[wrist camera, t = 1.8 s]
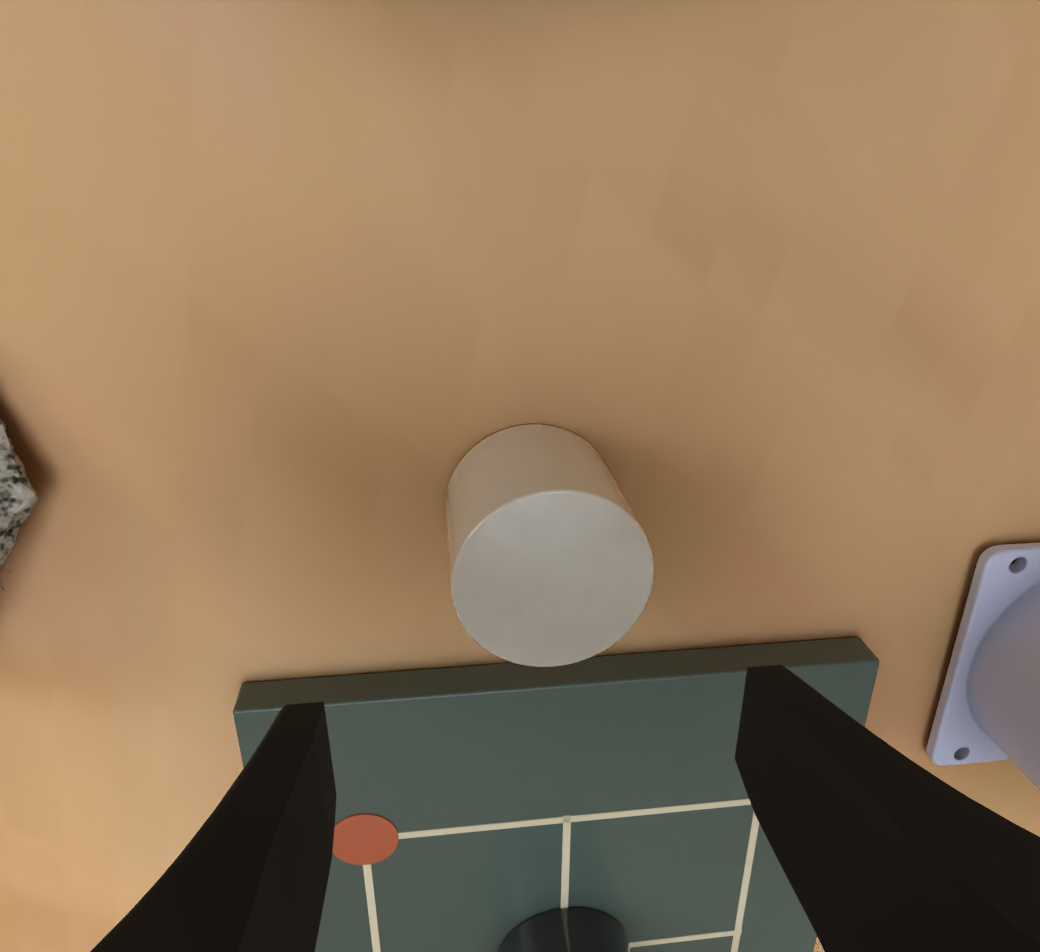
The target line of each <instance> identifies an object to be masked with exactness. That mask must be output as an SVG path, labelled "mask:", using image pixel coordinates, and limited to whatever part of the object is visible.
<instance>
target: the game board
mask: <svg viewBox="0 0 1040 952" xmlns="http://www.w3.org/2000/svg"><path fill="white" fill-rule="evenodd" d="M780 664H781V665H783V666H784V667H785V668H787V669H788V670H790V671H791V672H792V673H794V674H795V675H797V676H798V677H799V678H801V679H802V680H803V681H804V682H806V683H807V684H808V685H810V686H811V687H812V688H814V689H815V690H816V691H818V692H819V693H820V694H821V695H823V696H824V697H825V698H827V699H828V700H829V701H831V702H832V703H833V704H835V705H836V706H837V707H838V708H840V709H841V710H842V711H844V712H845V713H846V714H848V715H849V716H850V717H852V718H853V719H854V720H856V721H857V722H858V723H860V724H861V725H862V726H864V727H865V722H866V718H867V714H868V709H869V705H870V700H871V696H872V692H873V687H874V683H875V678H876V674H877V670H878V665H879V660H878V658H877V657H876V656H875V655H874V654H873V652H872V651H871V650H870V649H869V648H868V647H867V646H866V644H865V643H864V642H863V641H862V640H861V639H860V638H858V637H852V638H838V639H825V640H812V641H798V642H785V643H772V644H758V645H745V646H732V647H718V648H705V649H692V650H678V651H665V652H652V653H638V654H625V655H612V656H598V657H590V658H588V659H585V660H582V661H579V662H576V663H572V664H568V665H562V666H554V667H535V666H526V665H521V664H516V663H505V664H491V665H478V666H465V667H451V668H438V669H425V670H411V671H398V672H385V673H371V674H358V675H345V676H331V677H318V678H305V679H291V680H278V681H264V682H251V683H243V684H242V686H241V689H240V692H239V695H238V698H237V701H236V704H235V707H234V710H233V714H234V719H235V725H236V730H237V735H238V740H239V746H240V751H241V756H242V761H243V767H245V766H246V764H247V763H248V761H249V760H250V758H251V757H252V755H253V754H254V752H255V751H256V749H257V747H258V746H259V744H260V743H261V741H262V740H263V738H264V736H265V735H266V733H267V731H268V730H269V728H270V726H271V725H272V723H273V721H274V720H275V718H276V716H277V715H278V713H279V711H280V710H281V709H282V708H283V707H284V706H285V705H287V704H300V703H312V702H324V706H325V713H326V721H327V728H328V735H329V743H330V750H331V758H332V765H333V772H334V780H335V787H336V795H337V798H336V812H335V827H334V840H333V853H332V861H331V867H330V872H329V878H328V883H327V889H326V894H325V900H324V905H323V910H322V916H321V921H320V927H319V932H318V937H317V943H316V948H315V952H499V949H500V947H501V945H502V943H503V942H504V940H505V939H506V937H507V936H508V935H509V934H510V933H511V932H512V931H513V930H514V929H515V928H516V927H518V926H519V925H520V924H522V923H523V922H525V921H527V920H528V919H530V918H532V917H535V916H537V915H539V914H542V913H545V912H548V911H552V910H557V909H563V908H586V909H592V910H596V911H599V912H602V913H605V914H607V915H609V916H611V917H612V918H613V919H615V920H616V921H617V922H618V923H619V924H620V925H621V926H622V927H623V929H624V930H625V932H626V935H627V937H628V941H629V945H630V949H631V952H813V950H814V946H815V941H816V937H817V934H816V933H815V931H814V929H813V927H812V925H811V923H810V921H809V919H808V917H807V915H806V913H805V911H804V909H803V907H802V905H801V903H800V902H799V900H798V898H797V896H796V894H795V892H794V890H793V888H792V886H791V884H790V882H789V880H788V878H787V876H786V874H785V873H784V871H783V869H782V867H781V865H780V863H779V861H778V859H777V857H776V855H775V853H774V851H773V849H772V847H771V845H770V843H769V841H768V839H767V837H766V835H765V833H764V831H763V829H762V827H761V825H760V823H759V821H758V819H757V817H756V815H755V813H754V810H753V808H752V805H751V802H750V800H749V797H748V795H747V792H746V789H745V787H744V784H743V781H742V778H741V775H740V772H739V769H738V766H737V764H736V761H735V752H736V745H737V738H738V730H739V723H740V716H741V709H742V702H743V695H744V688H745V680H746V673H747V667H755V666H768V665H780Z"/></svg>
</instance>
